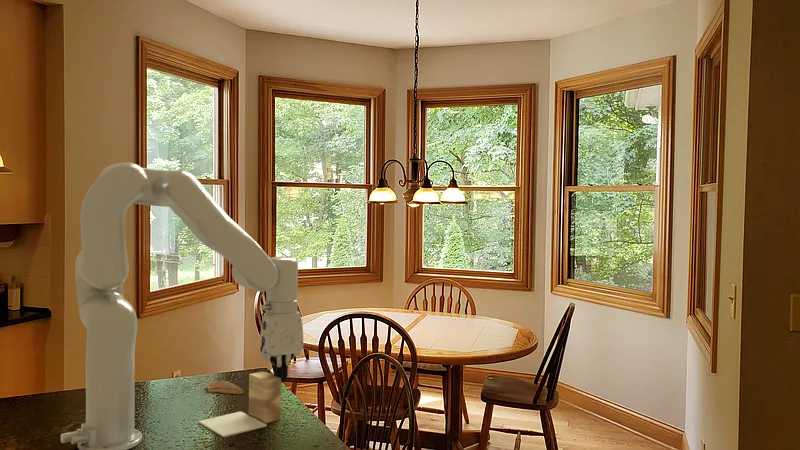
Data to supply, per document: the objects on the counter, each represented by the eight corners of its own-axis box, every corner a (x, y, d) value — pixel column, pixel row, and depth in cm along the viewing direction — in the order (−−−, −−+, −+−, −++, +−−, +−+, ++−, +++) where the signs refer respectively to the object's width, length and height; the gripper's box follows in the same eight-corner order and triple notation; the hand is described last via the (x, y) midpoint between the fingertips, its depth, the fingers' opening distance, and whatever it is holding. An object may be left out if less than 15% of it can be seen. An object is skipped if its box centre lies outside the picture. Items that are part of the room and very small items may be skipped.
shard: (244, 395, 176) (244, 389, 176) (216, 400, 171) (216, 393, 171) (228, 386, 185) (228, 379, 185) (202, 390, 180) (202, 383, 180)
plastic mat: (223, 437, 145) (223, 435, 145) (198, 422, 153) (198, 421, 153) (266, 426, 152) (266, 424, 152) (240, 412, 161) (240, 411, 161)
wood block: (265, 423, 154) (266, 381, 154) (248, 414, 160) (249, 374, 160) (280, 419, 157) (281, 378, 156) (263, 411, 163) (263, 371, 162)
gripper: (263, 312, 153) (261, 390, 153) (315, 306, 163) (314, 379, 163) (246, 308, 158) (245, 383, 159) (298, 302, 168) (297, 373, 169)
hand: (280, 381), depth 161 cm, fingers closed
